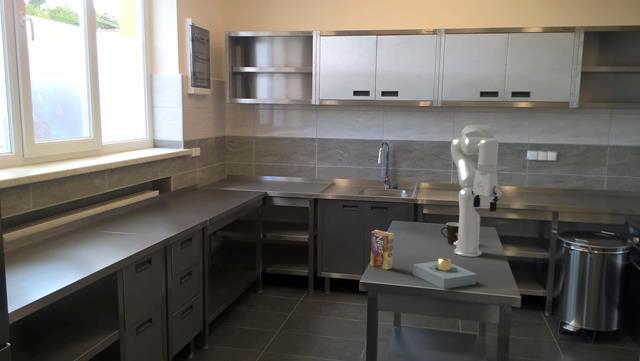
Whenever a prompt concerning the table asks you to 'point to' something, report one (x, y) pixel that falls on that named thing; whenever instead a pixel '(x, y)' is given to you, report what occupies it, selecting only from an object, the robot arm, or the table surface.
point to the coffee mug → (452, 232)
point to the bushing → (444, 264)
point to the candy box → (382, 249)
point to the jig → (444, 275)
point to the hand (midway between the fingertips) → (484, 209)
